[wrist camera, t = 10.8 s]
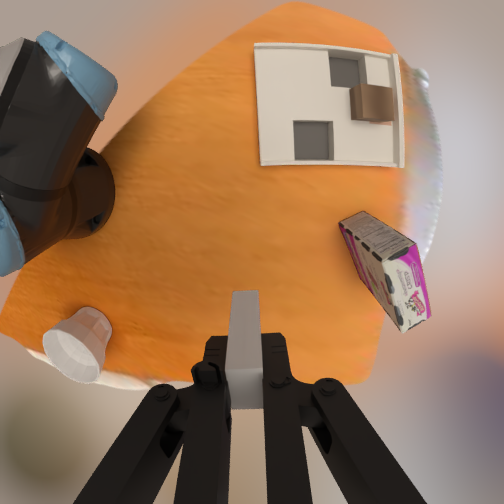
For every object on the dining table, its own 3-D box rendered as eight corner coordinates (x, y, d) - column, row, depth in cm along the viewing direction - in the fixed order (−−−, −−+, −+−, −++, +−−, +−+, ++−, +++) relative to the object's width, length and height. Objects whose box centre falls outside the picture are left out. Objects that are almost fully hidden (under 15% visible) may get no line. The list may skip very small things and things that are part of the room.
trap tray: (260, 163, 39) (261, 166, 35) (253, 52, 33) (254, 41, 29) (388, 164, 39) (404, 167, 34) (383, 62, 33) (397, 54, 28)
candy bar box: (384, 265, 45) (433, 317, 30) (359, 279, 46) (400, 336, 31) (364, 207, 42) (418, 242, 26) (336, 221, 42) (380, 264, 27)
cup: (59, 305, 48) (31, 336, 38) (99, 289, 46) (70, 323, 36) (91, 352, 52) (70, 386, 42) (132, 342, 51) (113, 380, 40)
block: (351, 119, 34) (363, 117, 30) (349, 89, 32) (360, 83, 28) (380, 122, 34) (394, 120, 30) (378, 92, 32) (392, 87, 28)
